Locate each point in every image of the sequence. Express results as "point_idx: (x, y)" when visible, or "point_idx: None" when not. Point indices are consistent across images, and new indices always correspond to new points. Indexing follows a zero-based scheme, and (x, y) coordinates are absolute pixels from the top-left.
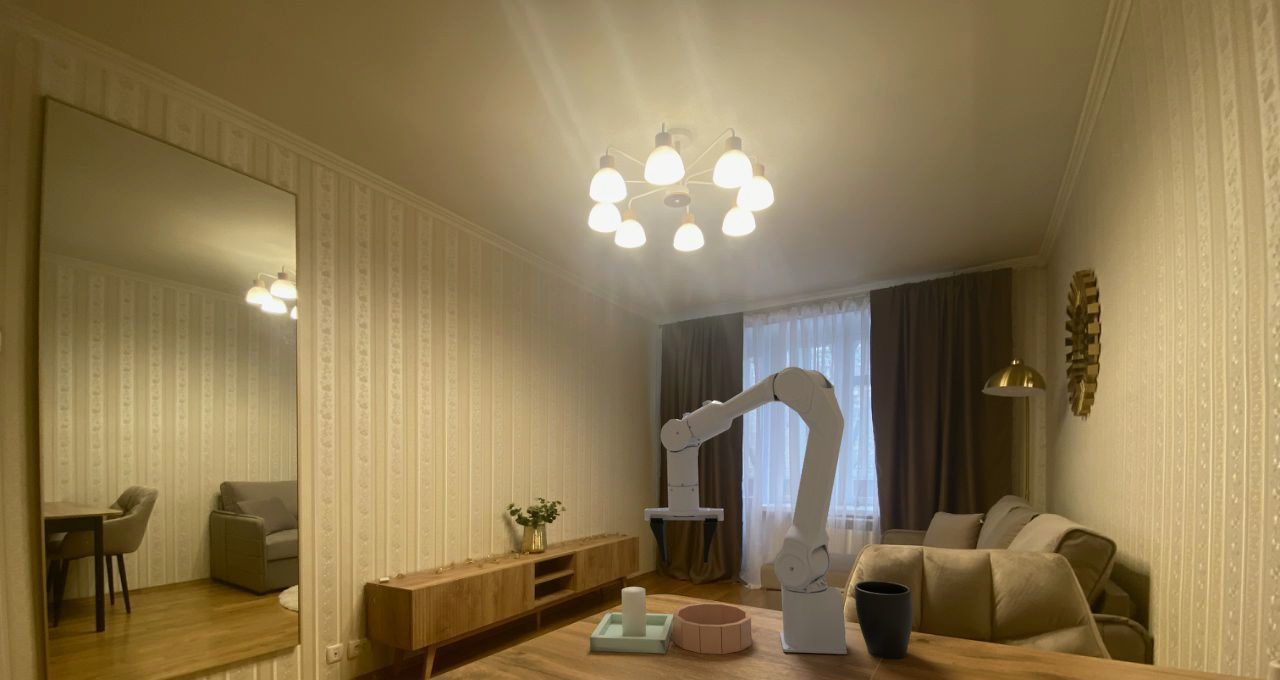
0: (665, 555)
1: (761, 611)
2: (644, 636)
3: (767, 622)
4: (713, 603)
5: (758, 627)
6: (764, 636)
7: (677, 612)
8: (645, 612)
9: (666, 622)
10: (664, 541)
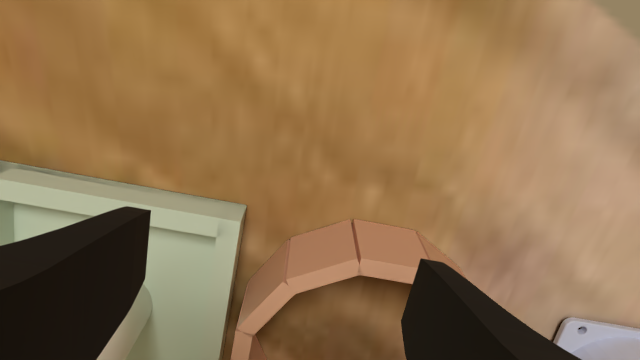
0: (129, 294)
1: (619, 62)
2: (148, 323)
3: (581, 194)
4: (396, 271)
5: (529, 239)
6: (515, 313)
7: (243, 357)
8: (125, 357)
9: (211, 304)
10: (71, 340)
